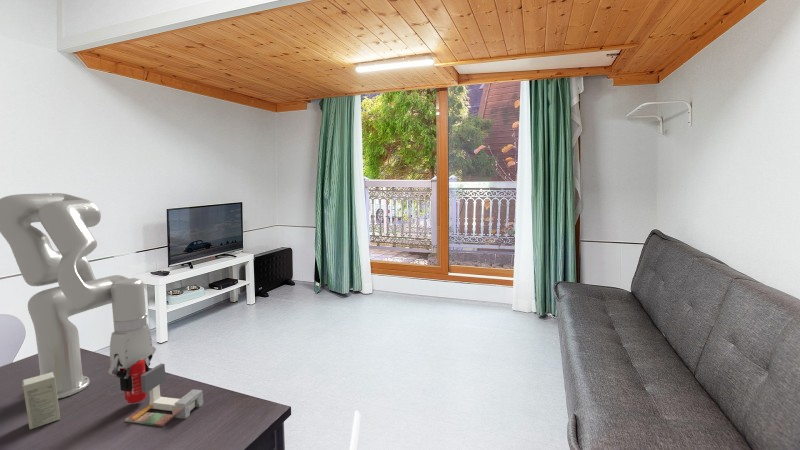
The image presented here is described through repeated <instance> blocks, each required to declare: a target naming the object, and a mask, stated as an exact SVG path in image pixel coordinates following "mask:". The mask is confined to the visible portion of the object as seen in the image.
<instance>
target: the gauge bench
mask: <svg viewBox="0 0 800 450" xmlns="http://www.w3.org/2000/svg"><path fill="white" fill-rule="evenodd" d="M203 394H204V393H203V390H201V389H191V390H190V391H189V392H188V393H186V394H185V395H183V396H182V397H180V398H178V399H179V400H178V401H177V402H175V404H174V405H173V406H172V411H171V412H172V414H167V413H162V412H161V413H159V412H148V411H146V412H145V413H143V414H142V415H141V416H139V417H138V418H136V419H135V420H132V419H131V417H133V416H134V415H136V414H137V413H138V412H140V411H141V410H136V412H134V413H132V414H131V415H130V416H128V417H126V418H125V419H124V422H128V423H135V424H141V425H149V426H155V427H164V426H165V425H166V424H168V423H169V422H171V420H173V419H174V418H175V419H176V418H178V419H188V418H189V417H190V415H191V411H190V408H189V404H190V403H191V402H193V401H195V407H194V408H200V407H202V406H203V405H204V397H203V396H204V395H203Z"/></svg>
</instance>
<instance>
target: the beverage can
mask: <svg viewBox="0 0 800 450" xmlns="http://www.w3.org/2000/svg"><path fill="white" fill-rule="evenodd" d="M123 372H124V373H125V369H123ZM144 373H146V372H145V360H144V359H143V358H142V359H141V360H139V361H137V363H136V364H134V365H132V366H131V369H130V375H129V377H131V378H132V391H124V399H125V400H126V402H127V403H128V404H138V403H140V402H142V401H144V400H145V399H146V397H147V395H148V392H147V393H142V383H141V375H142V374H144Z"/></svg>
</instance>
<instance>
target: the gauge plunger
mask: <svg viewBox="0 0 800 450" xmlns="http://www.w3.org/2000/svg"><path fill="white" fill-rule="evenodd" d="M166 380H167V379H166V367H165V363H159V364H158V365H156V366H154V367H152V368H151V369H149V371H148V372H146V373H144V374H142V375H141V383H142V393H147V394H148V393H149V394H148V395H149V402H148V403H149V404H148V405H147V406H145V407H144V408H142V409H141V410H139V411H140V412H138V413H137V414H136V415H134V416H133V417H131V419H132V420H135V419H136V418H138V417H139V416H141V415H142V414H143V413H145V412H148V411H149V410H151V409H153V410H162V411H170V412H172V406H173V405H174V404H175V402H177V401H178V400H179V399H180V398H176V397H175V398H174V397H165V396H161V388H160V387H161V386H160V385H161V384H163V383H164V382H165V381H166ZM189 408H190V412H191V411H192V410H193V409H194V408H196V407H195V401H193V402H191V403H190V404H189Z"/></svg>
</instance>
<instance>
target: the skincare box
mask: <svg viewBox="0 0 800 450" xmlns="http://www.w3.org/2000/svg"><path fill="white" fill-rule="evenodd" d="M22 392H23V396H24V404H25V409H26V416H27V421H28V422H27V423H28V428H29V430H33V429H35V428H38V427H43V426H44V425H47V424H49V423H53V422H56V421H59V420H61V412H60V406H59V399H58V397H57V390H56V384H55V377H54V373H53V372H50V373H46V374H43V375H40V374H39V375H36V376H32V377H29V378H25V379H22Z"/></svg>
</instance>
